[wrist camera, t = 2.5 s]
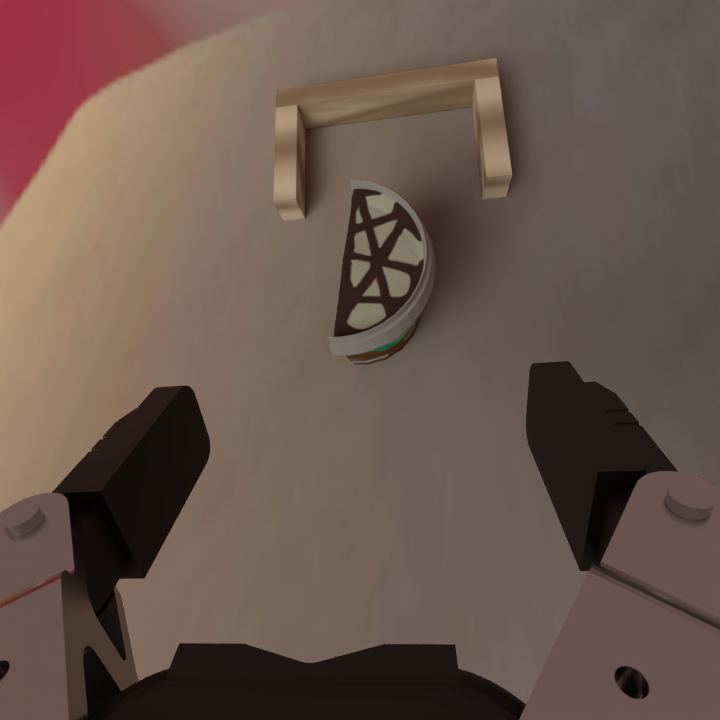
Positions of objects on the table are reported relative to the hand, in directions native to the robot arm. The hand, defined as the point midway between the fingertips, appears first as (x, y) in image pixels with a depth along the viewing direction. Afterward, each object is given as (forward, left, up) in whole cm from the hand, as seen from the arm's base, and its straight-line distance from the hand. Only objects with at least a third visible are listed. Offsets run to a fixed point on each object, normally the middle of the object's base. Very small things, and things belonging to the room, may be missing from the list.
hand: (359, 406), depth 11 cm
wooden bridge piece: (+27, 0, -25) cm, 37 cm away
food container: (+12, 0, -25) cm, 28 cm away
